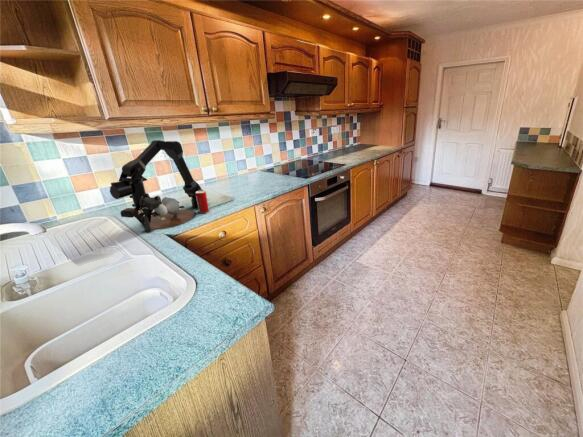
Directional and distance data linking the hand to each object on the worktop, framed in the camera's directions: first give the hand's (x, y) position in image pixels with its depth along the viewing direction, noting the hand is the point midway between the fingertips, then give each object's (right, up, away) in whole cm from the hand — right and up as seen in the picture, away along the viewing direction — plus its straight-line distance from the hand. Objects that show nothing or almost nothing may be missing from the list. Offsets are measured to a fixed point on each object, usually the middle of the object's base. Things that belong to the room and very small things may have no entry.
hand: (146, 224), depth 122 cm
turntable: (+3, +2, +13) cm, 13 cm away
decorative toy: (+4, +3, +15) cm, 15 cm away
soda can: (+20, +6, +22) cm, 30 cm away
